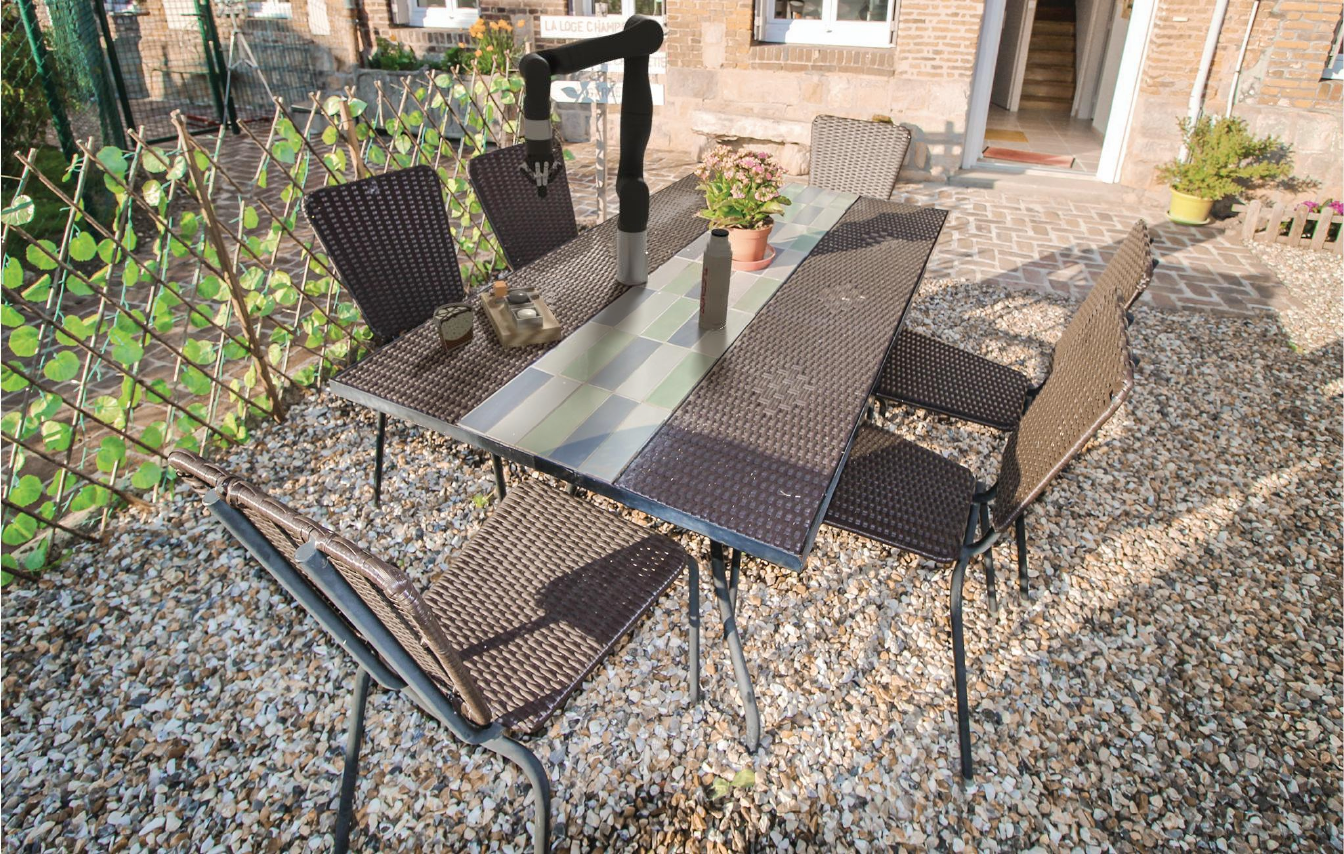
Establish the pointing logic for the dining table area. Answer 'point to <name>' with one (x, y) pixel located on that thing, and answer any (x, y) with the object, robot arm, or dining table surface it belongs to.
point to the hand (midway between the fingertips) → (541, 198)
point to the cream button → (526, 313)
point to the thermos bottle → (715, 280)
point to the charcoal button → (518, 296)
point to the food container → (454, 324)
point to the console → (516, 329)
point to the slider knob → (500, 289)
